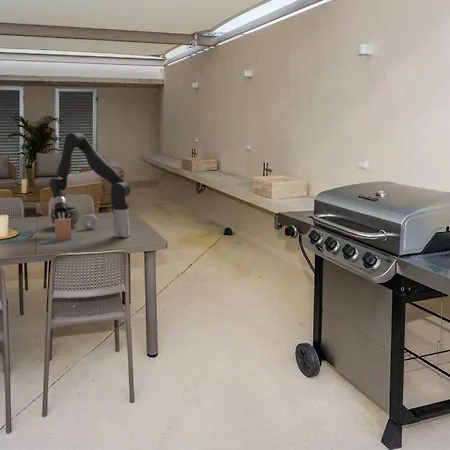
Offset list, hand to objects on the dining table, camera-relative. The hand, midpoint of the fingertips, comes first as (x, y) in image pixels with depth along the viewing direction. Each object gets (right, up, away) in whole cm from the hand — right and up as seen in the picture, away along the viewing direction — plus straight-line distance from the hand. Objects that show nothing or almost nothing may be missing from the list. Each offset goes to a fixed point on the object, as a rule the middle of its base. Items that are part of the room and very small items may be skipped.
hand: (62, 228), depth 319 cm
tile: (+2, -6, -4) cm, 8 cm away
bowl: (-9, +1, +34) cm, 35 cm away
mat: (+2, -7, -5) cm, 9 cm away
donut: (+9, -1, +28) cm, 29 cm away
